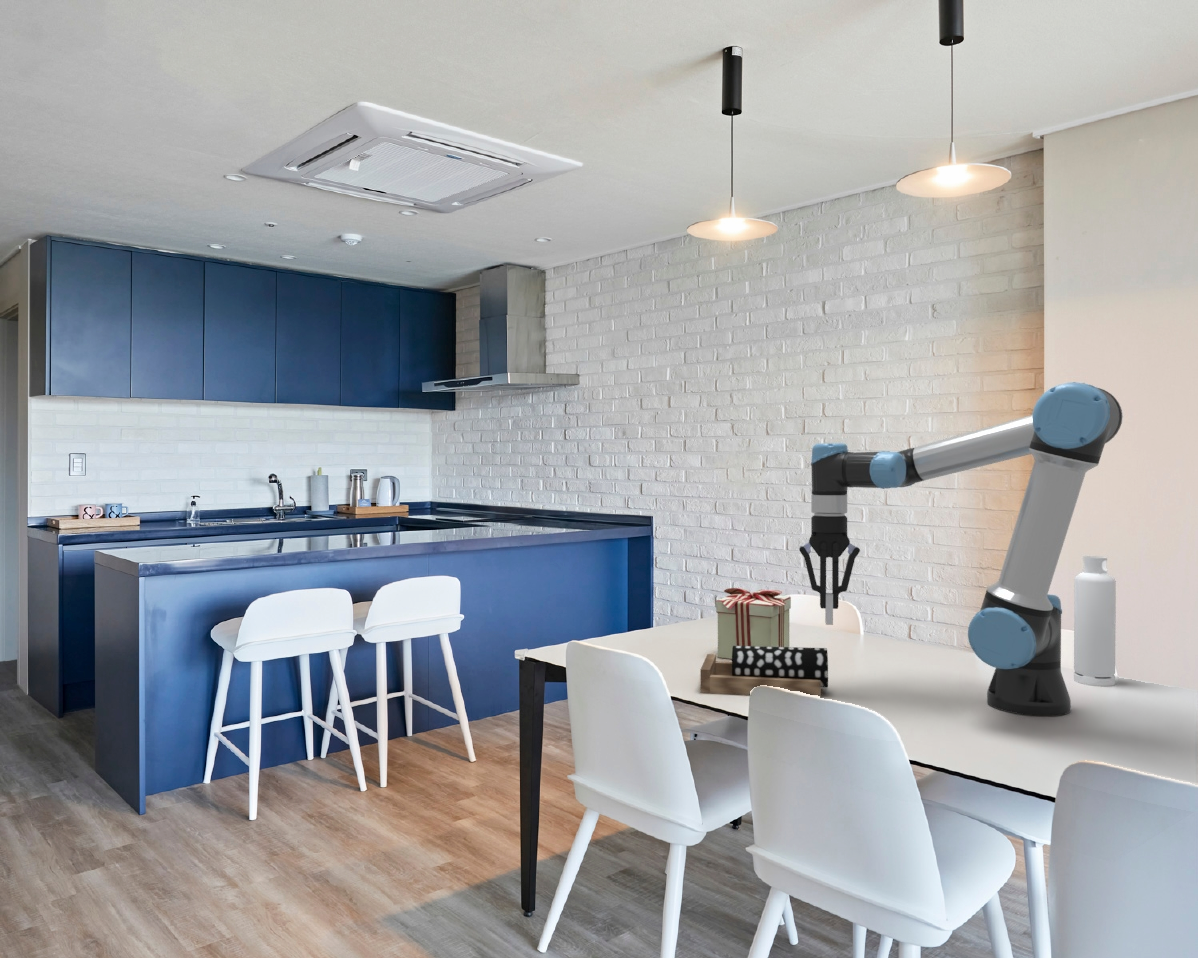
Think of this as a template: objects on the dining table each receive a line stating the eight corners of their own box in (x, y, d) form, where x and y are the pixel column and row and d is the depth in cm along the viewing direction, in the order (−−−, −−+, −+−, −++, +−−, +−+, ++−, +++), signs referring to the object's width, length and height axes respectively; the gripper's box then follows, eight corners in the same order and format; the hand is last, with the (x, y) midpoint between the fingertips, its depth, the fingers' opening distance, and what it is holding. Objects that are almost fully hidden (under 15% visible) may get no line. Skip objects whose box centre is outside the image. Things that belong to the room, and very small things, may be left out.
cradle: (818, 680, 201) (818, 658, 200) (820, 698, 185) (820, 674, 185) (707, 675, 206) (707, 653, 206) (700, 692, 190) (700, 669, 190)
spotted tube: (828, 655, 186) (731, 652, 190) (828, 693, 187) (732, 689, 191) (826, 643, 194) (733, 640, 198) (826, 679, 195) (734, 676, 199)
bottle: (1080, 675, 205) (1081, 554, 204) (1119, 681, 199) (1120, 556, 199) (1068, 681, 199) (1069, 557, 199) (1108, 688, 193) (1109, 559, 193)
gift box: (711, 661, 221) (711, 592, 221) (733, 647, 238) (732, 583, 238) (778, 667, 214) (778, 596, 214) (796, 653, 231) (796, 587, 230)
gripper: (859, 514, 194) (859, 621, 194) (798, 513, 197) (798, 619, 197) (862, 515, 187) (861, 627, 187) (798, 515, 190) (798, 625, 190)
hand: (829, 623), depth 192 cm, fingers closed
